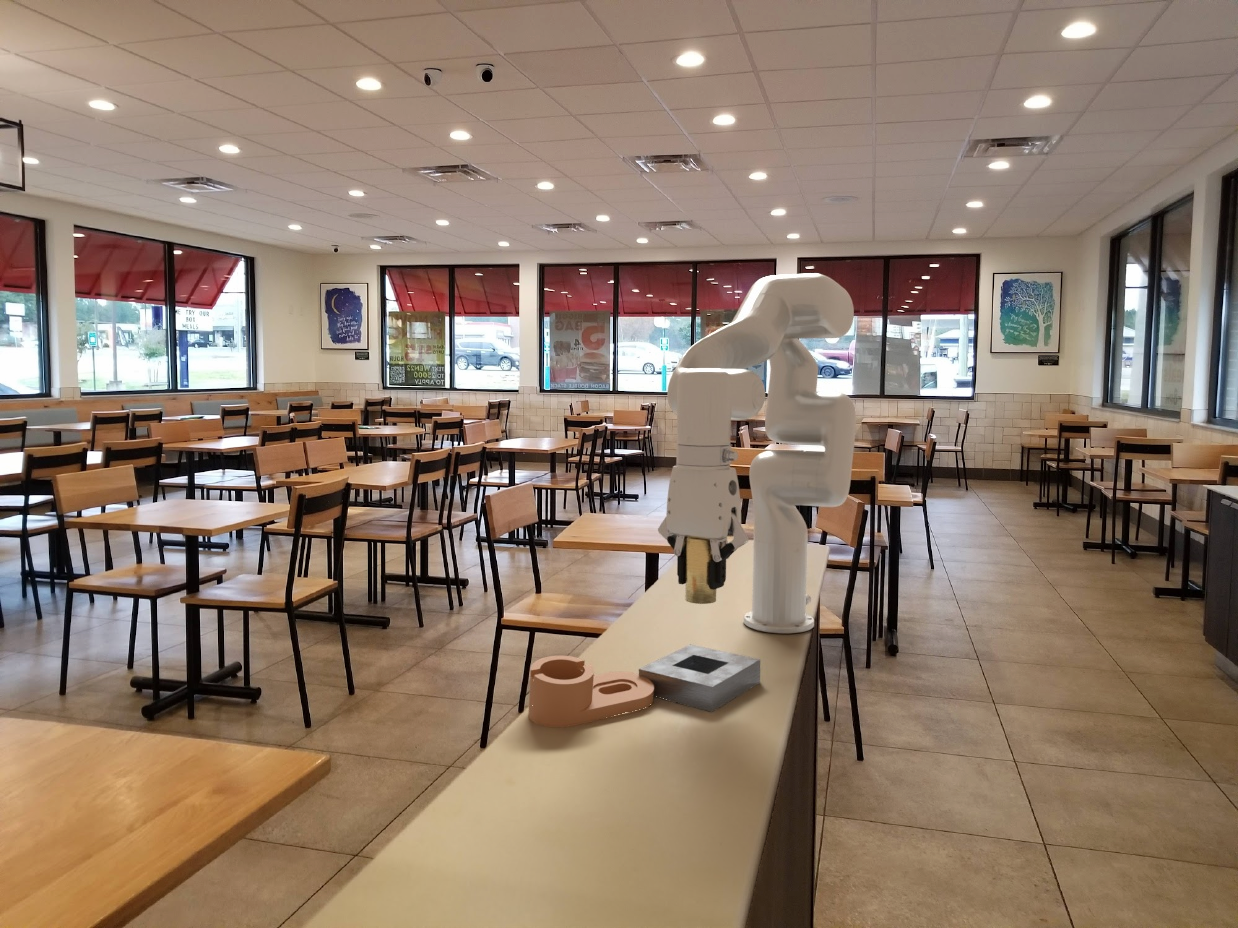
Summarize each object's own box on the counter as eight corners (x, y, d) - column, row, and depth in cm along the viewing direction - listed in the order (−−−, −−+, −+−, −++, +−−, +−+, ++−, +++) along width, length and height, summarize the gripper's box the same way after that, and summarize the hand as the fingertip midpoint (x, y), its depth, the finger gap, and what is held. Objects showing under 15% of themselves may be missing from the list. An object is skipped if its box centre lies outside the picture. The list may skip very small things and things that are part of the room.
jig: (690, 666, 135) (690, 644, 135) (760, 682, 128) (760, 659, 128) (638, 692, 124) (638, 668, 124) (712, 711, 117) (712, 686, 117)
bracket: (544, 738, 111) (547, 688, 109) (518, 708, 118) (520, 661, 116) (663, 711, 120) (667, 664, 118) (633, 684, 127) (636, 640, 125)
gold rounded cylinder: (695, 594, 128) (696, 533, 127) (721, 599, 125) (723, 537, 124) (679, 600, 124) (680, 538, 123) (706, 605, 122) (707, 541, 121)
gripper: (769, 459, 121) (766, 588, 123) (667, 452, 131) (665, 572, 132) (744, 463, 115) (741, 599, 117) (638, 455, 125) (637, 581, 126)
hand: (701, 583), depth 124 cm, fingers closed on gold rounded cylinder, 4 cm apart
